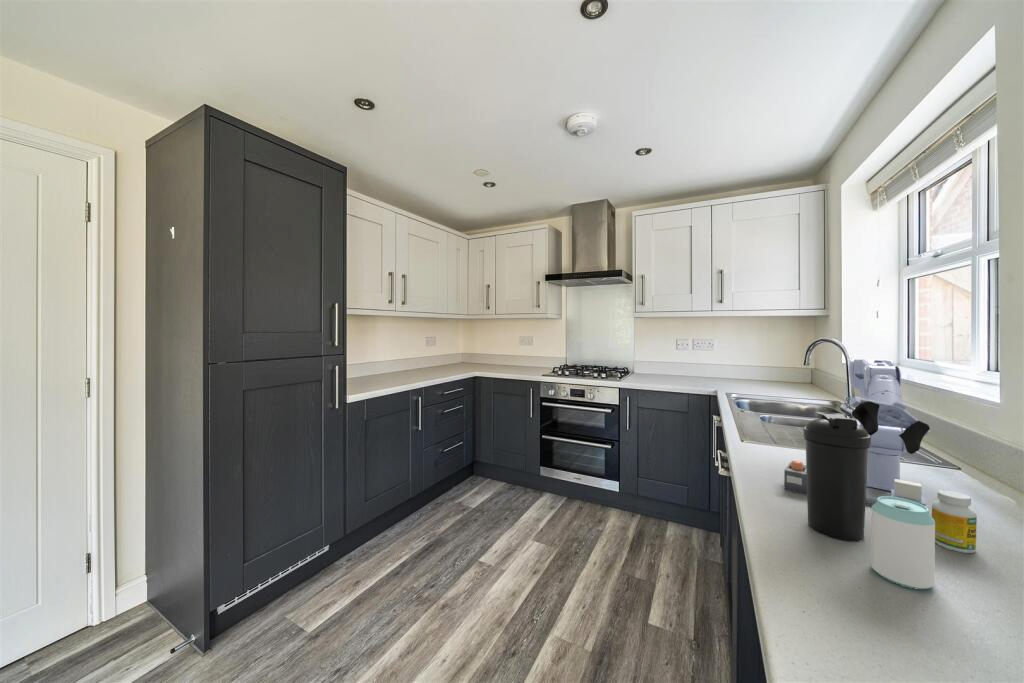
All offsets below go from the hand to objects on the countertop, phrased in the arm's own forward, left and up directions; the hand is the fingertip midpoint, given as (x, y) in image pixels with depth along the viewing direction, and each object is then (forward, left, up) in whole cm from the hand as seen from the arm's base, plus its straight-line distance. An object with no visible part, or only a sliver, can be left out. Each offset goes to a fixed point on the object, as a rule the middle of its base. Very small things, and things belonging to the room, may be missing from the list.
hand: (892, 441), depth 81 cm
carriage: (-3, +2, -16) cm, 16 cm away
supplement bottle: (+10, +8, -16) cm, 20 cm away
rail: (-3, -5, -16) cm, 17 cm away
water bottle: (+18, -8, -16) cm, 25 cm away
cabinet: (-3, -16, -16) cm, 23 cm away
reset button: (-3, -17, -13) cm, 22 cm away
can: (+30, +1, -16) cm, 34 cm away
